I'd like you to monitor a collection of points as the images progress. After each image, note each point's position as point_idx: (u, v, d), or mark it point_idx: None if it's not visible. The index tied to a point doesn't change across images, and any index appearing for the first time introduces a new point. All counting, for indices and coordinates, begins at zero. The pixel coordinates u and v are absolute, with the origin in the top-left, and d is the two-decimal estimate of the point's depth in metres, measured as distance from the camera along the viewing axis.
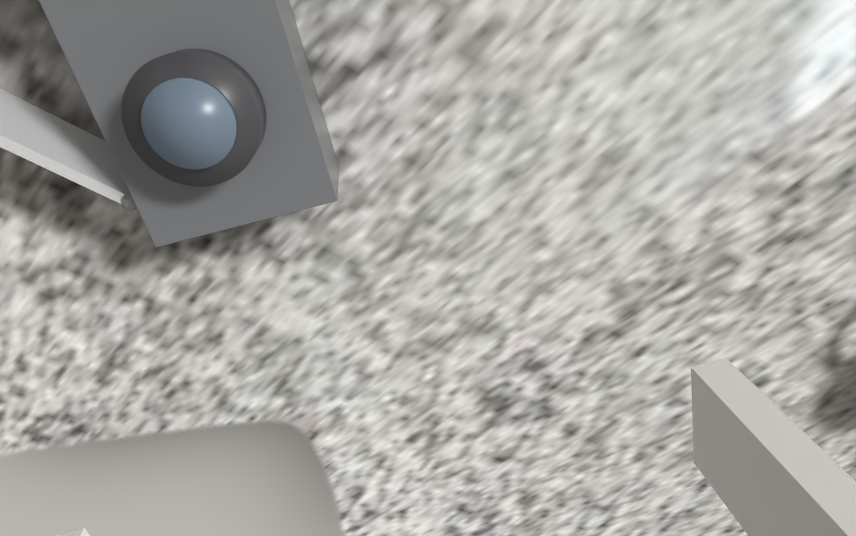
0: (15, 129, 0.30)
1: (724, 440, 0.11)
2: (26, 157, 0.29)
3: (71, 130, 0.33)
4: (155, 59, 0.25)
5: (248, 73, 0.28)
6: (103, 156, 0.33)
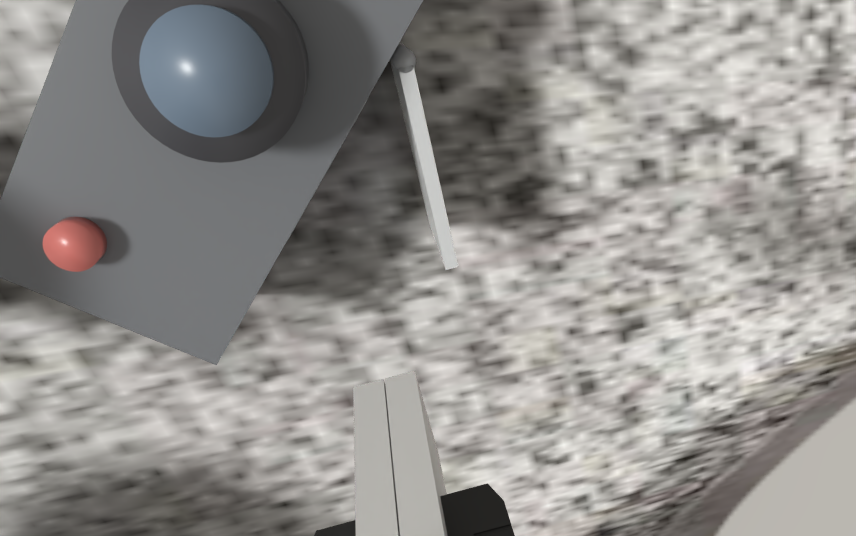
0: (428, 204, 0.27)
1: None
2: (437, 182, 0.25)
3: (414, 156, 0.29)
4: (187, 155, 0.20)
5: None
6: (405, 116, 0.27)
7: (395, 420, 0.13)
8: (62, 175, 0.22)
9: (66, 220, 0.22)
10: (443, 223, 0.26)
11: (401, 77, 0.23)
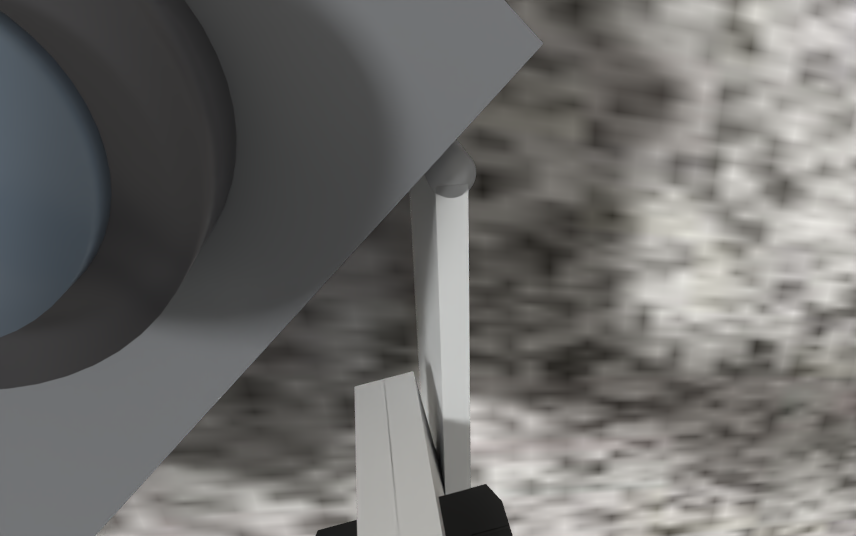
0: (435, 412, 0.14)
1: None
2: (464, 402, 0.13)
3: (418, 299, 0.17)
4: None
5: None
6: (420, 244, 0.15)
7: (396, 420, 0.13)
8: None
9: None
10: (460, 468, 0.13)
11: (437, 204, 0.11)
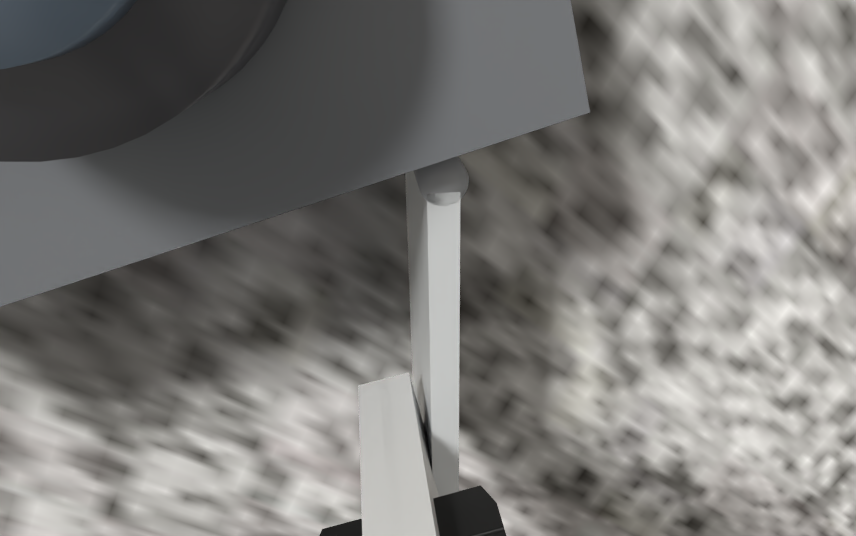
0: (425, 420, 0.14)
1: None
2: (454, 412, 0.12)
3: (412, 304, 0.17)
4: None
5: None
6: (414, 250, 0.14)
7: (400, 419, 0.13)
8: None
9: None
10: (448, 478, 0.13)
11: (429, 212, 0.11)
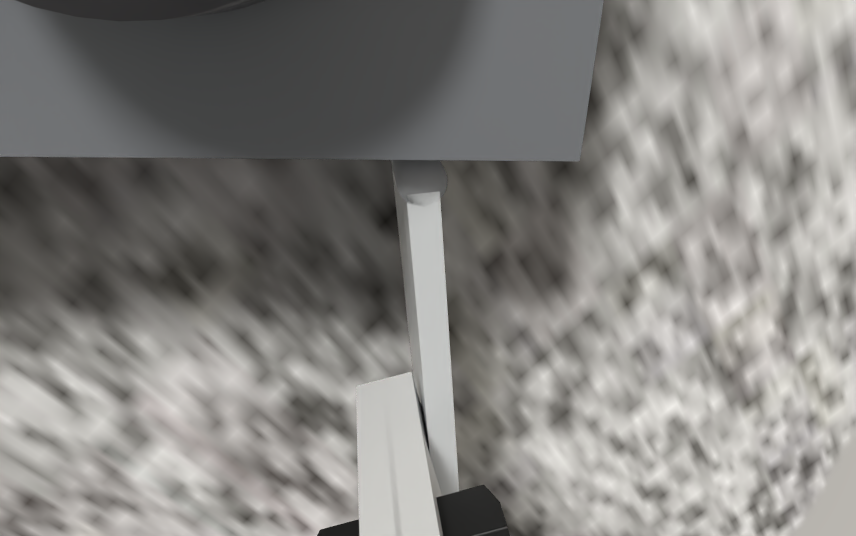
0: None
1: None
2: (449, 411, 0.12)
3: None
4: None
5: None
6: (403, 251, 0.14)
7: (398, 419, 0.13)
8: None
9: None
10: (448, 478, 0.13)
11: (409, 213, 0.11)
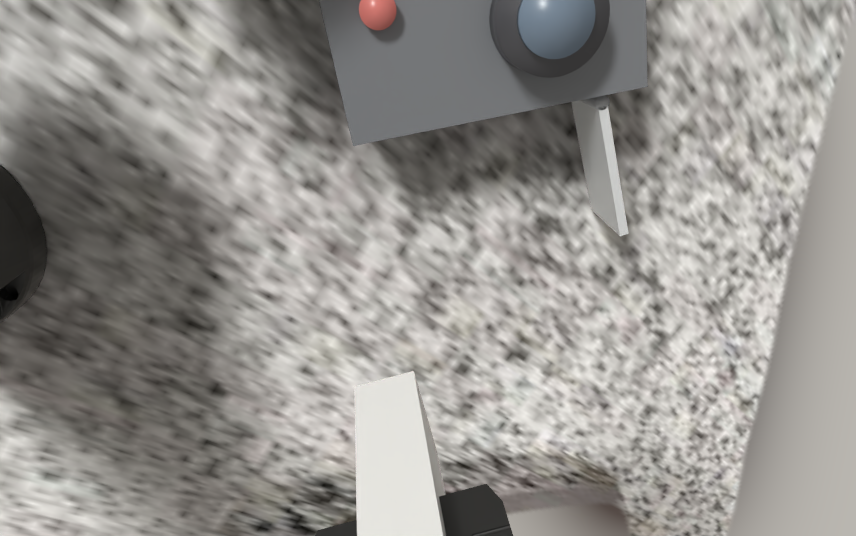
0: (606, 193, 0.40)
1: None
2: (617, 178, 0.38)
3: (586, 161, 0.42)
4: (501, 37, 0.31)
5: None
6: (587, 135, 0.40)
7: (396, 420, 0.13)
8: None
9: None
10: (620, 205, 0.39)
11: (599, 113, 0.36)
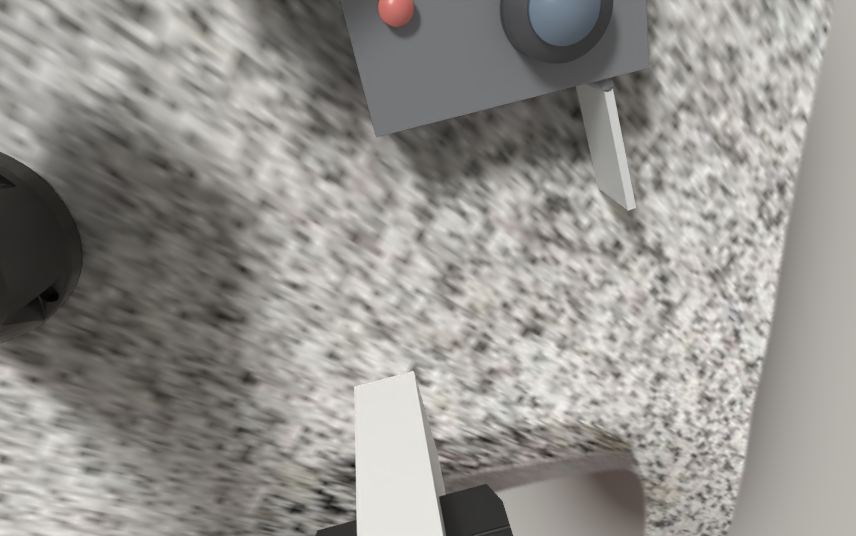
0: (613, 170, 0.42)
1: None
2: (624, 155, 0.40)
3: (591, 142, 0.45)
4: (513, 28, 0.33)
5: None
6: (592, 116, 0.42)
7: (396, 420, 0.13)
8: None
9: None
10: (627, 181, 0.41)
11: (605, 94, 0.38)
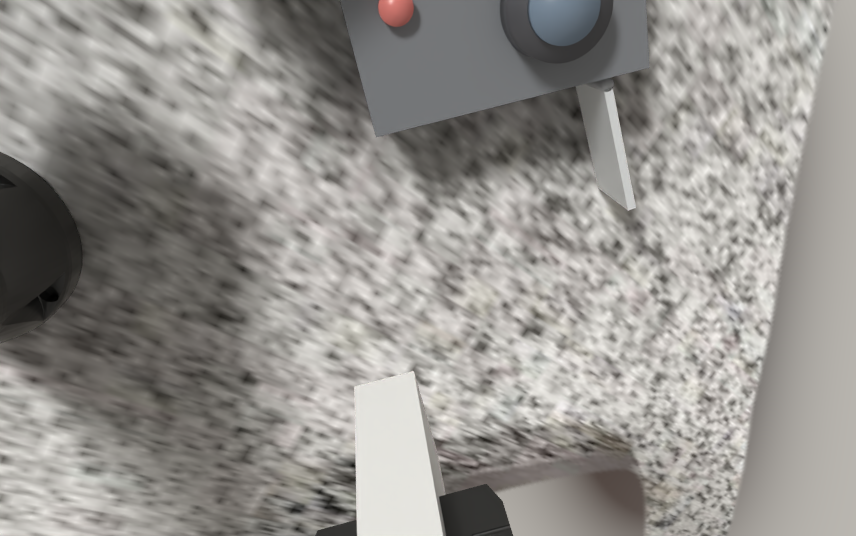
0: (612, 170, 0.42)
1: None
2: (624, 155, 0.40)
3: (591, 142, 0.45)
4: (513, 28, 0.33)
5: None
6: (592, 116, 0.42)
7: (396, 420, 0.13)
8: None
9: None
10: (627, 181, 0.41)
11: (605, 94, 0.38)
